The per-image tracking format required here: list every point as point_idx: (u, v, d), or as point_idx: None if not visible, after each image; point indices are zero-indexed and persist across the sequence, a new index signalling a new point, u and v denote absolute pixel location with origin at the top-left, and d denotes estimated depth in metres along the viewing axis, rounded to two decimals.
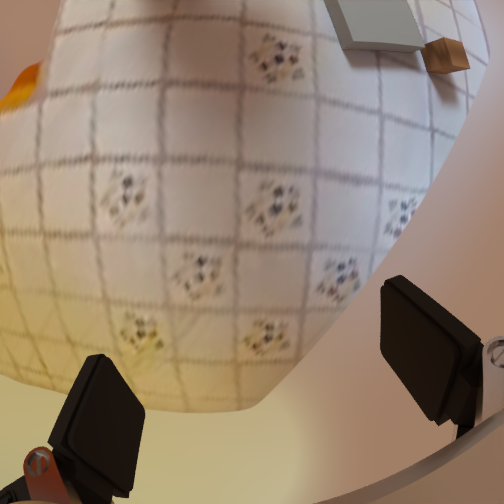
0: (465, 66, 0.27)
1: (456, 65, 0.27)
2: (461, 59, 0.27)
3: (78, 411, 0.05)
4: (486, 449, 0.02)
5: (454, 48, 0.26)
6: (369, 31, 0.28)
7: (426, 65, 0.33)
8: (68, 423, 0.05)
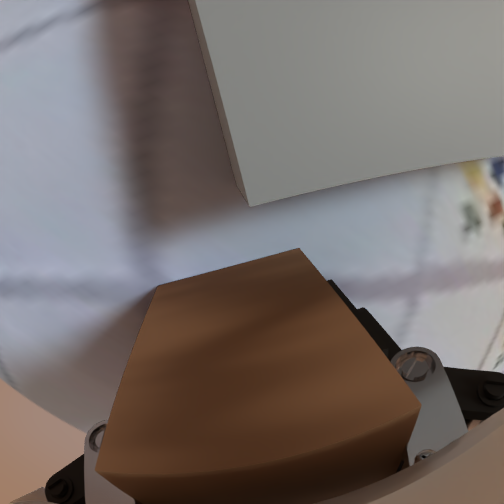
0: None
1: None
2: None
3: None
4: (486, 449, 0.02)
5: (321, 492, 0.04)
6: None
7: (188, 282, 0.09)
8: None
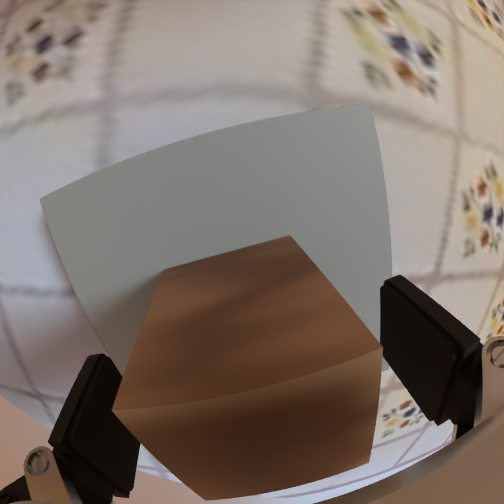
0: (194, 485, 0.05)
1: (145, 438, 0.05)
2: (231, 473, 0.05)
3: (78, 411, 0.05)
4: (486, 449, 0.02)
5: (306, 438, 0.05)
6: (98, 263, 0.10)
7: (192, 264, 0.10)
8: (68, 423, 0.05)
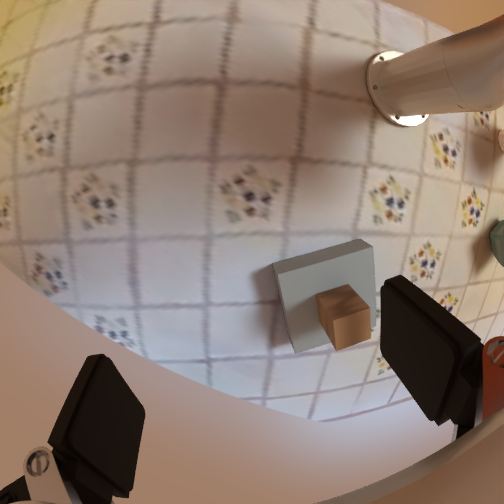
0: (337, 342, 0.33)
1: (334, 327, 0.32)
2: (345, 336, 0.33)
3: (78, 411, 0.05)
4: (486, 449, 0.02)
5: (359, 325, 0.33)
6: (295, 293, 0.38)
7: (324, 292, 0.38)
8: (68, 423, 0.05)
